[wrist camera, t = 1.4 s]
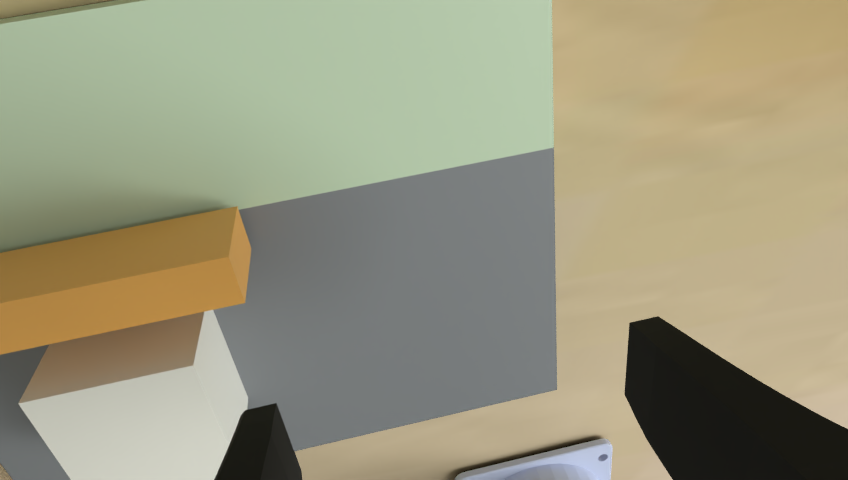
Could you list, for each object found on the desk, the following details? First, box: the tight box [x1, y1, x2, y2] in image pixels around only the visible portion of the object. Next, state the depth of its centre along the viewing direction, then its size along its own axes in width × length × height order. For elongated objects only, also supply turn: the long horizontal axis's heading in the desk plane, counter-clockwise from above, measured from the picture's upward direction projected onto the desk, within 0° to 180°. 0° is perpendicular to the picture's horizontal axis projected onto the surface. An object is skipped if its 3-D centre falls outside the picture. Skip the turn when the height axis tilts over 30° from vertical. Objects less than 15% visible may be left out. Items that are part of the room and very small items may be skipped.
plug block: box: [18, 310, 248, 480], centre depth 20 cm, size 5×5×4 cm
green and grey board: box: [0, 0, 557, 480], centre depth 21 cm, size 18×22×1 cm
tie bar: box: [0, 206, 251, 355], centre depth 18 cm, size 2×9×3 cm, turn 97°
